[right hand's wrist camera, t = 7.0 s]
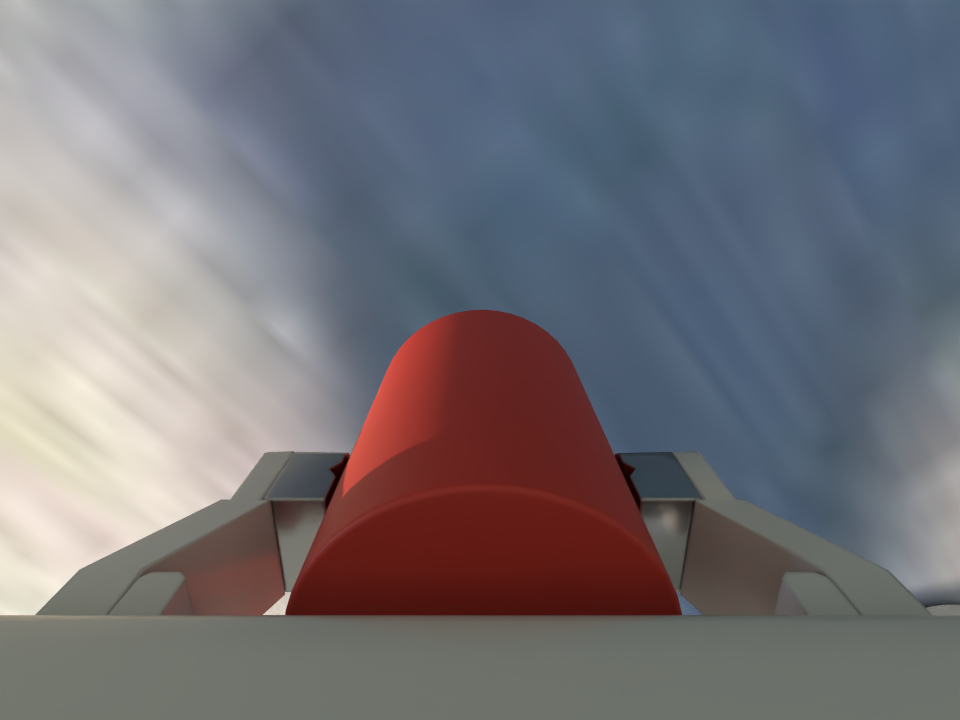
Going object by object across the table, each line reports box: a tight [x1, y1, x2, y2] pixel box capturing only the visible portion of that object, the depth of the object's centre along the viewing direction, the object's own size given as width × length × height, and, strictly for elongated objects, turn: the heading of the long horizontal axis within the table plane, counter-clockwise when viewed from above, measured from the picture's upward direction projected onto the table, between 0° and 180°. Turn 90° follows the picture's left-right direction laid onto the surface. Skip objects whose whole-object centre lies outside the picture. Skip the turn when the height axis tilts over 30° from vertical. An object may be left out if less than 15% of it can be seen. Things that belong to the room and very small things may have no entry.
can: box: [285, 310, 682, 615], centre depth 10 cm, size 5×5×7 cm
